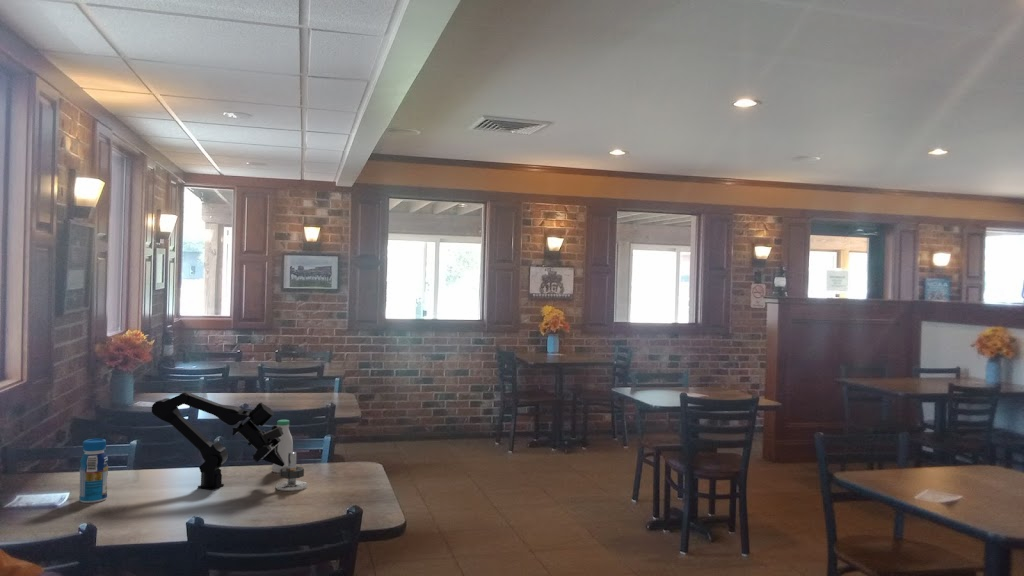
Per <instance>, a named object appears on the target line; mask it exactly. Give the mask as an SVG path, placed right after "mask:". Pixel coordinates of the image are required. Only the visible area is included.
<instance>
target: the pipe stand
mask: <svg viewBox="0 0 1024 576" xmlns="http://www.w3.org/2000/svg"><path fill="white" fill-rule="evenodd" d="M296 466H297V451H293V452H289V453H288V470H296ZM306 487H308V482H306V481H303V480H297V478H294V479H287V480H285V481H279V482H278V483H276V484H275V490H277V491H280V492H297V491H298V492H299V491H303V490H305V489H307V488H306ZM302 489H303V490H302Z"/></svg>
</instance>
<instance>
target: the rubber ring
mask: <svg viewBox="0 0 1024 576" xmlns="http://www.w3.org/2000/svg"><path fill="white" fill-rule="evenodd" d="M279 476H280V478H281V479H287V480H288V479H294V478H296V479H300V478H302V477H304V476H305V468H304V467H303V466H297V465H296V470H288V467H284V468H281V469H280V473H279Z"/></svg>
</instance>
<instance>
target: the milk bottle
mask: <svg viewBox="0 0 1024 576" xmlns="http://www.w3.org/2000/svg"><path fill="white" fill-rule="evenodd" d="M276 422H277V424H276V425H278V426H280V427H281V428H282V431H283V434H282V436H280V437H278V438H279V439H280V440H281V441H280V442H279V443H278V444H277V445H278V453H279V455H280V456H281V458H282V460H283V462H284V464H285V465H284V466H283V467H282V466H279V465H276V464H273V463H271V470H272V473H275V474H276V473H277V474H280V469H281V468H284V467H288V453H289V452H294V444H293V443H294V442H293V436H292V434H291V431H290V420H289V419H279V420H277V421H276ZM277 445H276V446H277ZM276 446H275V447H276Z"/></svg>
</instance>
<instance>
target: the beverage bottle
mask: <svg viewBox="0 0 1024 576" xmlns="http://www.w3.org/2000/svg"><path fill="white" fill-rule="evenodd" d="M106 448H107V440H106V439H104V438H91V439H86V440H84V441H83V442H82V451H83V452H84V453H83V454H82V456H81V458H80V459H79V460H80V461H79V463H80V467H79V497H78V499H79V502H80V503H83V504H92V503H94V504H95V503H100V502H102V501H105V500H106V499H107V497H108V473H109V465H108V461H109V457H108V455H107V453H106V452H105V451H106V450H107V449H106Z"/></svg>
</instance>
